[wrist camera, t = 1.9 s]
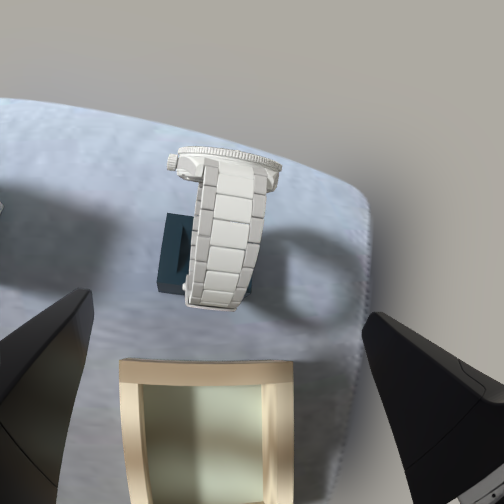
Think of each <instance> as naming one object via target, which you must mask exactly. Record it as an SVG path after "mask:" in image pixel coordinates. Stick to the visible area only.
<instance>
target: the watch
mask: <svg viewBox="0 0 504 504" xmlns="http://www.w3.org/2000/svg"><path fill="white" fill-rule="evenodd" d="M178 155H180V156H179V158H178ZM178 155H175V154H170V155H169V158H168V162H167V170H170V171H175V170H176V168H177V175H178V176H179V177H181V178H182V179H184V180H188V181H194V182H199V186H198V191H197V199H196V205H195V214H194V217H192V216H185V215H178V214H171V213H167V217H166V223H165V229H164V235H163V242H162V248H161V255H160V262H159V269H158V277H157V286H158V291H159V292H164V293H171V294H179V295H185V304H186V305H187V307H193V308H200V309H208V310H219V311H233V312H234V311H235V310H236V309H237V307H238V306H239V305H240V303H241V301H242V299H243V298H245V297H246V296H248V295H249V294H251V284H252V273H253V268H254V267H255V264H256V260H257V256H258V252H259V248H260V245H259V243H260V241H261V236H262V231H263V225H264V219H263V218H264V215H265V208H266V193H269V192H273V191H274V190H275V189H276V188H277V184H278V178H279V172H280V171H281V170H282V165H281V164H279V163H278V162H276V161H273V160H271V159H268V158H265V157H261V156H258V155H254V154H250V153H246V152H241V151H239V150H230V149H223V148H215V147H200V146H188V147H182V148H179V150H178ZM195 215H198V216H195ZM231 221H232V222H231ZM234 222H238V223H234ZM241 223H245V224H241ZM247 224H249V225H247ZM254 243H258V244H254Z"/></svg>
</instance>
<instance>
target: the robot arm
mask: <svg viewBox="0 0 504 504" xmlns="http://www.w3.org/2000/svg"><path fill="white" fill-rule="evenodd" d="M93 320H94V307H93V298H92V292H91V290H90V289H84V288H77V289H75V290H74V291H72V292H71V293H69V294H68V295H66V296H65V297H63V298H62V299H60V300H59V301H57V302H56V303H54V304H53V305H51V306H50V307H48V308H47V309H45V310H44V311H42V312H41V313H39V314H38V315H36V316H35V317H33V318H32V319H30V320H29V321H28V322H26V323H25V324H23V325H22V326H20V327H19V328H18V329H16V330H15V331H13V332H12V333H11V334H9V335H8V336H6V337H5V338H4V339H2V340H1V341H0V504H56V498H57V490H58V489H57V488H58V482H59V475H60V469H61V463H62V457H63V452H64V447H65V442H66V437H67V432H68V427H69V423H70V418H71V414H72V410H73V406H74V402H75V398H76V394H77V391H78V387H79V383H80V380H81V376H82V373H83V369H84V365H85V361H86V356H87V351H88V345H89V340H90V335H91V330H92V325H93ZM362 339H363V343H364V346H365V350H366V353H367V357H368V361H369V365H370V369H371V372H372V375H373V378H374V380H375V383H376V386H377V389H378V392H379V395H380V397H381V400H382V403H383V406H384V409H385V412H386V415H387V418H388V420H389V423H390V426H391V429H392V432H393V435H394V439H395V442H396V445H397V448H398V451H399V454H400V458H401V461H402V464H403V468H404V470H405V475H406V479H407V482H408V486H409V489H410V493H411V497H412V500H413V504H447V503H448V502H450V501H452V500H453V499H455V498H458V500H459V502H460V504H504V385H503V384H501V383H500V382H498V381H496V380H494V379H492V378H491V377H489V376H487V375H485V374H483V373H482V372H480V371H478V370H476V369H474V368H473V367H471V366H470V365H468V364H466V363H465V362H463V361H461V360H460V359H457V357H455V356H453V355H452V354H450V353H449V352H447V351H445V350H444V349H442V348H441V347H439V346H437V345H436V344H434V343H432V342H431V341H429V340H427V339H426V338H424V337H423V336H421V335H419V334H418V333H416V332H415V331H413V330H411V329H409V328H408V327H406V326H404V325H403V324H401V323H400V322H398V321H397V320H395V319H393V318H392V317H390V316H388V315H386V314H385V313H383V312H372V313H371V314H370V315H369V317H368V319H367V321H366V323H365V325H364V327H363V329H362Z"/></svg>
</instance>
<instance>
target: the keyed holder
mask: <svg viewBox="0 0 504 504" xmlns="http://www.w3.org/2000/svg"><path fill="white" fill-rule="evenodd" d="M119 387H120V410H121V425H122V437H123V447H124V457H125V465H126V473H127V480H128V486H129V493H130V499H131V504H293V486H294V390H293V361H280V360H250V361H183V360H158V359H141V358H126V359H122V360H119Z"/></svg>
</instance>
